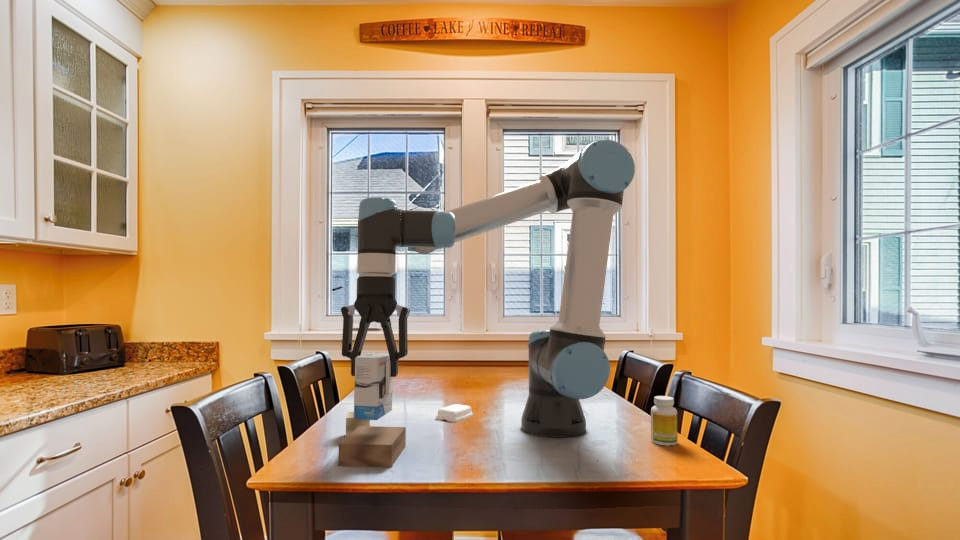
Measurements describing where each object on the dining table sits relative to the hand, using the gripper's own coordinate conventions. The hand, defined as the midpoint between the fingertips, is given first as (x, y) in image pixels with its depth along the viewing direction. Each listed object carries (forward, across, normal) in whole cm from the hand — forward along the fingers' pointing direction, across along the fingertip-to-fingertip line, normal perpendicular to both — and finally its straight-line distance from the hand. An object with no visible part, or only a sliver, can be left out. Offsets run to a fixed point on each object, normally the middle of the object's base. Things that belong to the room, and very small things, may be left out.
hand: (374, 392), depth 97 cm
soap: (+13, -13, -31) cm, 36 cm away
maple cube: (+12, +7, -12) cm, 19 cm away
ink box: (+4, 0, 0) cm, 4 cm away
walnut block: (+12, 0, 0) cm, 12 cm away
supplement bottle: (+12, -60, -13) cm, 63 cm away
